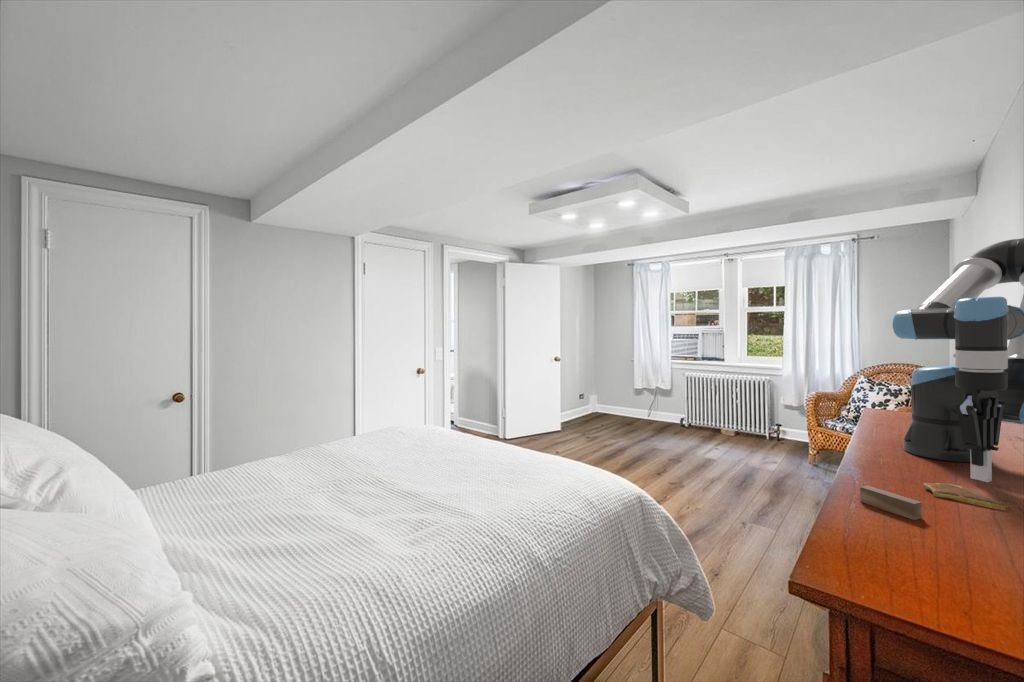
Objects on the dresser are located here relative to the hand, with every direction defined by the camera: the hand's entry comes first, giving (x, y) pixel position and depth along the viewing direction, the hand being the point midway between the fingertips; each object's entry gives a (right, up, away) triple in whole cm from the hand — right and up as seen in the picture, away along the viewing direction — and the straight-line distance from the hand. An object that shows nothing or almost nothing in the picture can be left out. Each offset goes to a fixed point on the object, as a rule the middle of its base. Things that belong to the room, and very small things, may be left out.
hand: (980, 479), depth 91 cm
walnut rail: (-28, -3, -9) cm, 30 cm away
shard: (-9, -3, -5) cm, 11 cm away
